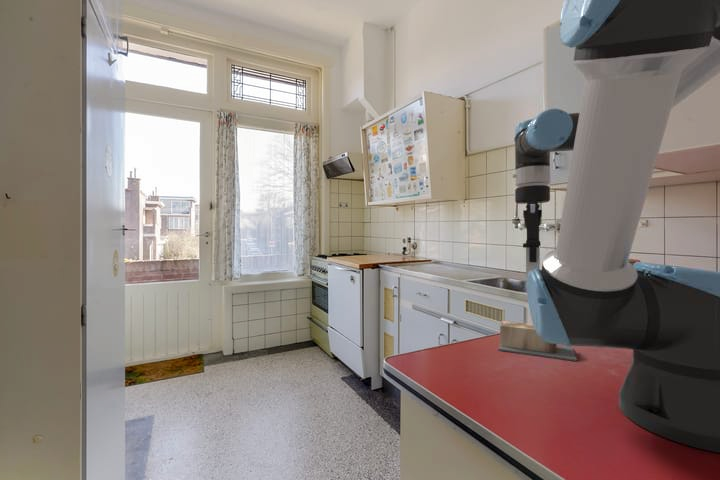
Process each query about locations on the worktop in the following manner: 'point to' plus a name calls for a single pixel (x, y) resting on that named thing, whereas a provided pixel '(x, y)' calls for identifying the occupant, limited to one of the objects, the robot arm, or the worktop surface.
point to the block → (523, 337)
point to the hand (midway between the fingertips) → (532, 273)
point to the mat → (561, 352)
